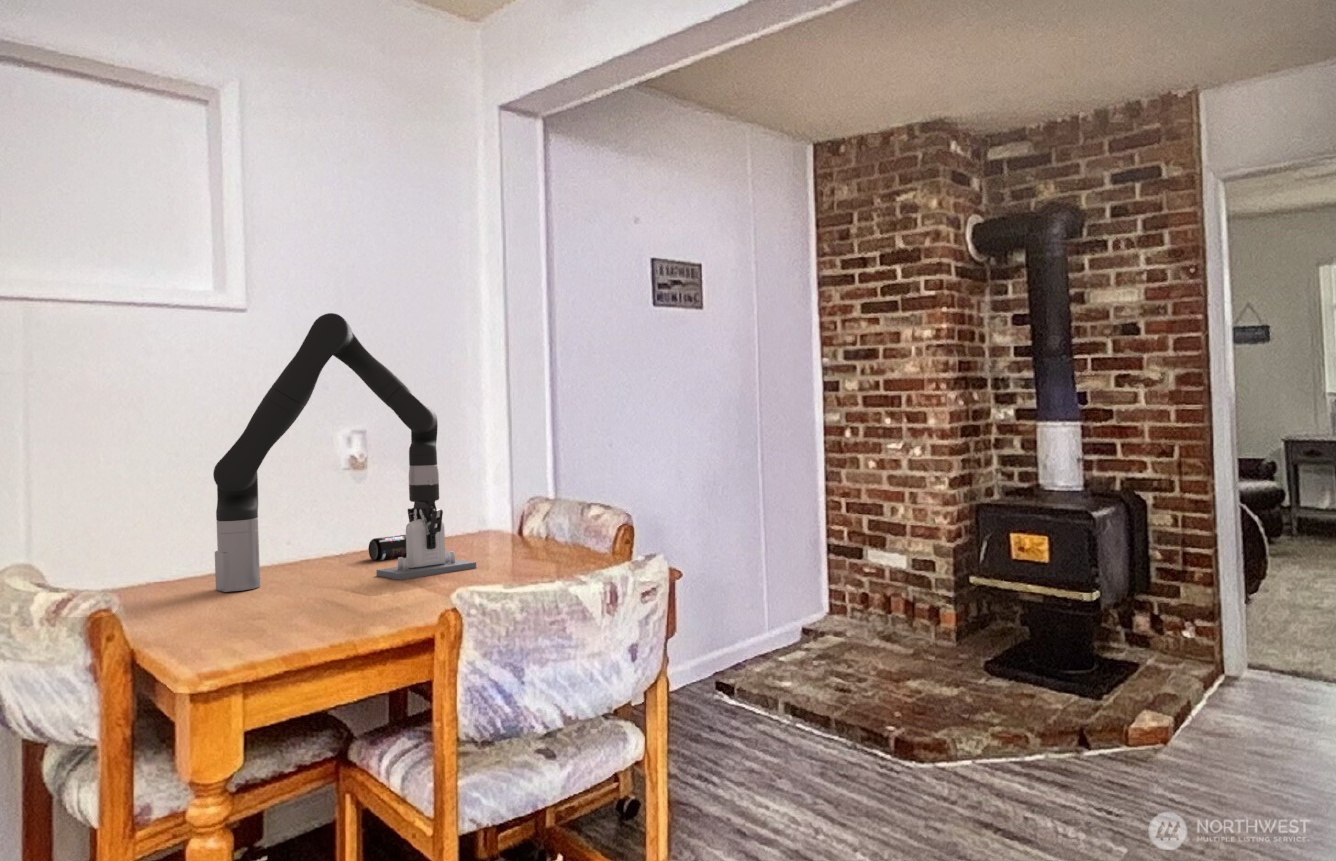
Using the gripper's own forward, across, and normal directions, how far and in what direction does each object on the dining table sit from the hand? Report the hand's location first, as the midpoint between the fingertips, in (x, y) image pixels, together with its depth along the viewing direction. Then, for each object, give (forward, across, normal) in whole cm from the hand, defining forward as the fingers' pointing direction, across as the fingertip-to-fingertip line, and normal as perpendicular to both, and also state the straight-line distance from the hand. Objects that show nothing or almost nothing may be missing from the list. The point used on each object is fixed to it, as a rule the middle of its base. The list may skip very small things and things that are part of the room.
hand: (426, 547), depth 226 cm
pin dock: (+6, 0, 0) cm, 6 cm away
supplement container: (+4, -28, +1) cm, 29 cm away
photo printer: (+5, 0, 0) cm, 5 cm away
